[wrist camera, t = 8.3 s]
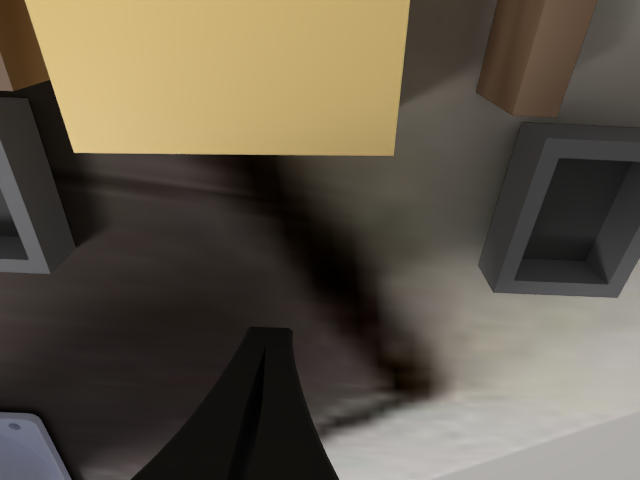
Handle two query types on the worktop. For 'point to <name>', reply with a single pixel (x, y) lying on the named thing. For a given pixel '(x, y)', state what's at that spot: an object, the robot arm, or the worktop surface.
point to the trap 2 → (567, 212)
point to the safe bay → (496, 75)
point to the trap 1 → (28, 197)
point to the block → (225, 74)
